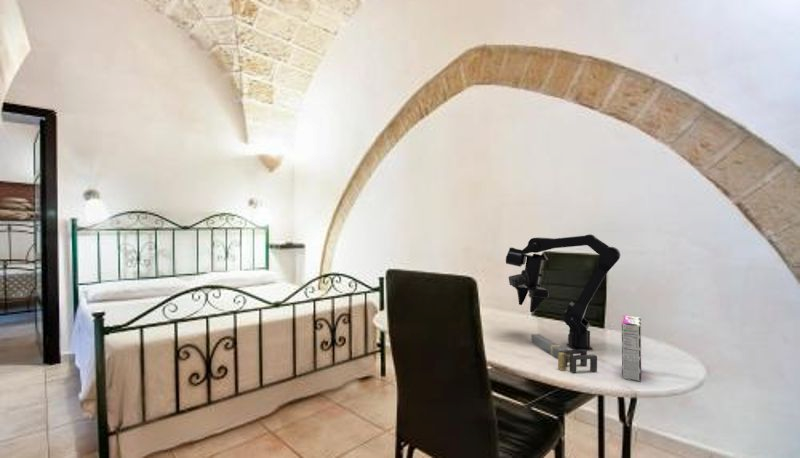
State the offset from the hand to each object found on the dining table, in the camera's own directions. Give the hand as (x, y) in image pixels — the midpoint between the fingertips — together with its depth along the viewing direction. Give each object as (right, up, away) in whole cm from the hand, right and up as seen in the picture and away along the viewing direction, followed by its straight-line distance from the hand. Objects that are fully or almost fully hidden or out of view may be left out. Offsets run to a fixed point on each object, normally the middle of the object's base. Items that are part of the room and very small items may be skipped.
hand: (525, 308), depth 153 cm
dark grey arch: (+7, -12, -34) cm, 37 cm away
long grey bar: (+4, -12, -15) cm, 20 cm away
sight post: (+1, -12, -32) cm, 34 cm away
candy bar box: (+20, -13, -36) cm, 43 cm away
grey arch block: (+6, -12, -29) cm, 32 cm away
